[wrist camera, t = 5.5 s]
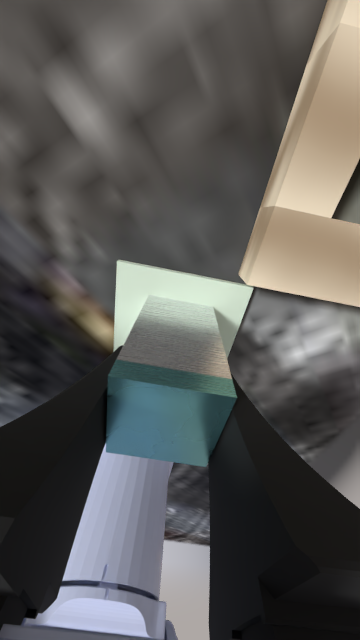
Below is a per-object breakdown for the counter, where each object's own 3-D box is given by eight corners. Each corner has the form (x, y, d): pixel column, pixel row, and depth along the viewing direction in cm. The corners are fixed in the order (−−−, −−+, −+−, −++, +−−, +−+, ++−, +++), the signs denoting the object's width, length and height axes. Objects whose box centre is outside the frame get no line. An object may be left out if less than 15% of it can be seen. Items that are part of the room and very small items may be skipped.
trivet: (216, 382, 16) (217, 386, 15) (114, 365, 15) (112, 368, 15) (251, 285, 12) (253, 287, 12) (119, 259, 12) (117, 260, 11)
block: (198, 357, 14) (205, 466, 8) (142, 347, 14) (105, 452, 8) (213, 306, 12) (237, 397, 6) (148, 294, 12) (107, 376, 6)
